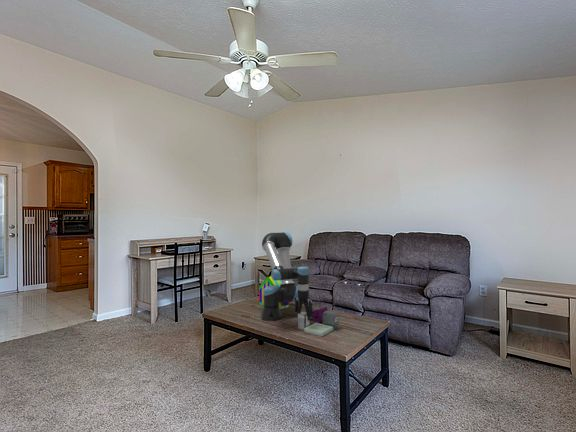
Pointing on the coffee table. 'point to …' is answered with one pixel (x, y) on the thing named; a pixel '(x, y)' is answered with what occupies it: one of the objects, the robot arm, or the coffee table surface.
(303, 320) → the module
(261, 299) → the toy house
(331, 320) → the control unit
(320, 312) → the mounting bracket
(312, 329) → the tray
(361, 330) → the coffee table surface
